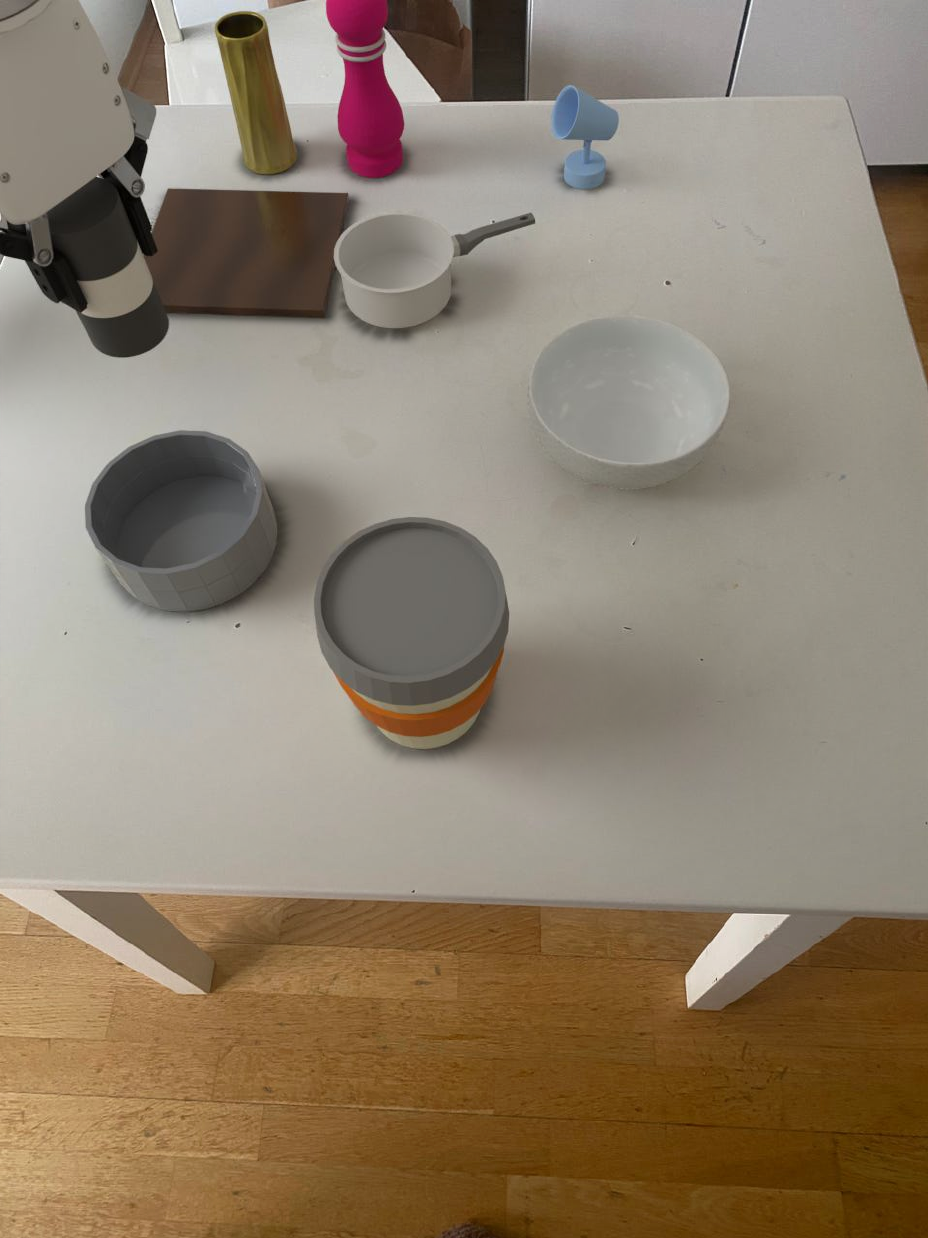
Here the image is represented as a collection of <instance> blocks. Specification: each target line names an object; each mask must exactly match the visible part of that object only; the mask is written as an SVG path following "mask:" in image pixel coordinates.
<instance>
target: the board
mask: <svg viewBox="0 0 928 1238" xmlns="http://www.w3.org/2000/svg"><path fill="white" fill-rule="evenodd" d="M165 192H166V193H165V195H164V198H163V201H162V204H161V206H160V209H159V212H158V214H157V217H156V220H155V221H154V225H153V227H152V230H151V234H152V236H153V239H154V241H155V244H156V247H157V249H158V252H157V253H156V254H154V255H153V256H146V255H144V254H143V256H144V259H145V261H146V264H147V266H148V269H149V271H150V274H151V276H152V279H153V281H154V284H155V286H156V289H157V291H158V294H159V296H160V299H161V301H162V304H163V306H164V309H165V311H166V314H167V313H168V314H170V313H171V314H197V315H199V314H200V315H225V316H226V315H227V316H228V315H229V316H253V317H254V316H257V317H281V318H283V317H286V318H312V319H316V318H317V319H324V318H325V317H326V311H327V307H328V302H329V298H330V293H331V288H332V284H333V279H334V275H335V270H336V265H335V261H334V248H335V246H336V243H337V241H338V239H339V238H340V236H341V234H342V233H343V232H344V229H345V228H344V227H345V223H346V218H347V215H348V214H347V213H348V208H349V204H350V197H349V192H329V191H327V192H323V191H322V192H321V191H319V192H318V191H317V192H316V191H287V190H286V191H285V190H249V189H248V190H247V189H246V190H245V189H244V190H243V189H211V188H210V189H207V188H206V189H203V188H171V187H170V188H167V190H166V191H165Z"/></svg>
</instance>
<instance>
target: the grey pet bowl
mask: <svg viewBox="0 0 928 1238" xmlns="http://www.w3.org/2000/svg"><path fill="white" fill-rule="evenodd" d="M275 515H276V513H275V509H274V507H273V504H272V501H271V499H270V496H269V493H268V490H267V487H266V485H265V482H264V479H263V477H262V474H261V470H260V469H259V467H258V465H257V464H256V462H255V461H254V460H253V458H252V456H251V454H250V453H249V452H248V451H247V450H246V449H245V448H243V447H241V446H240V445H239V444H237V443H236V442H235V441H233V440H232V439H231V438H228V437H225V436H222V435H220V434H216V433H213V432H210V431H206V430H185V429H184V430H183V429H182V430H181V429H180V430H175V431H169V432H165V433H160V434H154V435H151V436H150V437H147V438H145V439H143V440H141V441H138V442H137V443H134V444H132V445H129V446H128V447H127V448H125V449H124V450H123V451H121V452H120V453H119V454H117V455H116V456H115V457H114V458H113V459H111V460H109V462H108V463H107V464H106V465H105V466H104V467H103V469H102V470H101V471H100V472H99V474H98V476H97V477H96V478H95V479H94V480H93V482H92V484H91V487H90V489H89V493H88V495H87V498H86V501H85V503H84V517H85V518H84V519H85V520H84V521H85V523H84V524H85V530H86V532H87V534H88V536H89V538H90V540H91V542H92V544H93V547H94V548H95V549H96V551H97V552H98V554H99V556H100V557H101V558H102V560H103V561H104V562H105V564H106V565H107V567H108V569H109V570H110V571H111V573H112V574H113V575H114V577H115V578H116V580H117V582H119V584H120V585H121V586H122V587H123V588H124V589H125V590H126V591H127V592H128V593H129V594H130V595H131V596H133V597H134V598H135V599H136V600H137V601H140V602H141V603H143V604H145V605H147V606H150V607H152V608H155V609H158V610H163V611H167V612H177V613H178V612H179V613H183V612H185V613H187V612H188V613H189V612H197V611H202V610H206V609H210V608H213V607H214V608H215V607H216V606H219V605H222V604H224V603H227V602H229V601H230V600H232V599H234V598H236V597H237V596H239V595H241V594H242V593H244V591H246V590H247V589H249V587H251V586H252V585H253V584H254V583H255V582H256V581H257V580H258V579H259V578H260V576H261V575H262V574H263V573H264V572H265V570H266V569H267V567H268V566H269V564H270V562H271V560H272V558H273V555H274V553H275V550H276V547H277V541H278V524H277V519H276V516H275Z"/></svg>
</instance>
